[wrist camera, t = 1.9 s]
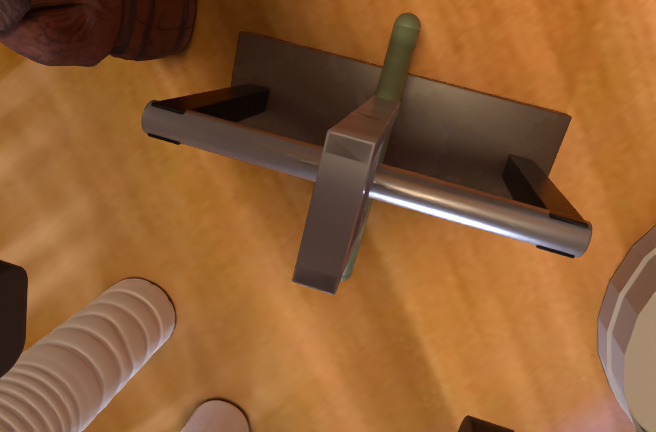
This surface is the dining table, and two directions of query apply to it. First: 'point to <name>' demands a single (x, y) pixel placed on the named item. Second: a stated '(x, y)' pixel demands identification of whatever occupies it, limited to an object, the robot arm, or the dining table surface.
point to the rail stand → (404, 144)
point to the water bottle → (85, 360)
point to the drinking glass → (216, 418)
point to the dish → (632, 333)
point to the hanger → (353, 171)
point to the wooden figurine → (95, 29)
